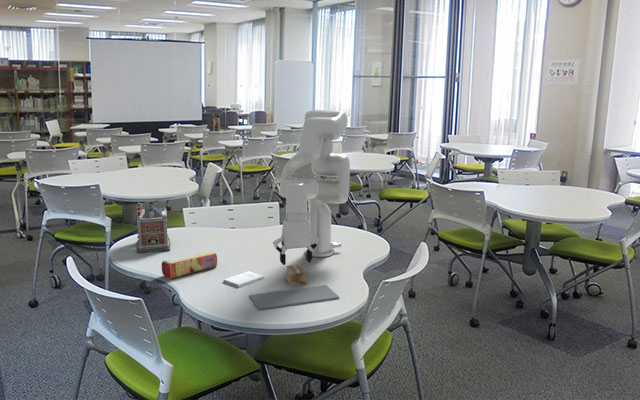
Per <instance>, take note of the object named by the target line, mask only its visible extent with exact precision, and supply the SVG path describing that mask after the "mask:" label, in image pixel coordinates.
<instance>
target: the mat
mask: <svg viewBox="0 0 640 400" xmlns="http://www.w3.org/2000/svg"><path fill="white" fill-rule="evenodd" d="M249 298H250V300H251V301H252V302H253V304H254V305H255V307H256V308H257V309H258V311H262V310H269V309H276V308H283V307H290V306H297V305H303V304H311V303H319V302H325V301H331V300H332V301H333V300H339V299H340V296H339V295H338V294H337V293H336V292H335V291H334V290H333V289H331V288H330V287H329V286H328V285H327V284H321V285H314V286H307V287H306V286H305V287H299V288H292V289H284V290H275V291H270V292H268V291H267V292H261V293H254V294H249Z"/></svg>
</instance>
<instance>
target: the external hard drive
mask: <svg viewBox="0 0 640 400" xmlns="http://www.w3.org/2000/svg"><path fill="white" fill-rule="evenodd" d="M263 279H265V276H264V274H263V275H262V274H260V273H256V272H252V271H249V270H248V271H245V272H242V273H238V274H236V275H233V276H230V277H228V278H225V279H223V283H225V284H227V285H230V286H233V287H236V288H237V289H239V288H242V287H245V286H247V285H250V284H253V283H256V282H259V281H261V280H263Z"/></svg>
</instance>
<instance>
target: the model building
mask: <svg viewBox="0 0 640 400" xmlns="http://www.w3.org/2000/svg"><path fill="white" fill-rule="evenodd" d="M136 205H137V210H136V223H137V225H136V226H137V241H136V249H135V250H136V251H135V252H136V253H135V254H137V253H138V254H149V253H148V252H150V253H158V252H161V251H162V252H170V250H171V239H170V237H169V234H168V224H167V223H168V219H167V215H168V214H167V207H165V206H164V207H162V208H158V207H155V206H154V202H153V201H149V207H147V208H145V209H144V208H141V207H142V206H141V202H137V204H136Z"/></svg>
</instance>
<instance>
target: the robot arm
mask: <svg viewBox="0 0 640 400" xmlns="http://www.w3.org/2000/svg"><path fill="white" fill-rule="evenodd" d="M347 126H348V115H347V113H346V112H345V111H343V110H337V109H336V110H332V109H331V110H330V109H313V110H311V109H310V110H308V111H306V112H305V115H304V122H303V125H302V128H301V129H302V130H301V135H300V140H299V146H298V151H297V152H296V153H295V154H294V155H293V156H292V157H291V158H290V159H289V160H288V161H287V162H286V164H285V165H284V167H283V169H282V172H281V178H280V182H279V193H280V196H281V197H282V198H285V200H286V201H285V219H284V220H283V222H282V225H281V226H282V227H281V236H280V237H279V238H277V239H275V240H274V241H272V244H273V247H274V249H275V250H276V251H278V253H279V261H280V263H281V264H282V265H283V266H286V264H287V263H286V260H287V259H286V258H287V256H286V252H287V251H288V250H291V249H301V248H302V249H303V248H305V249H304V254H306V255H305V260H306V262H308V263H311V262H312V259H313V257H315V258H325V257H329V256H333V255H334V254H335V249H337V248H338V249H339V248H342V243H341V242H337V241H335V242H332V211H331V209H330V207H329V206H328V204H339V205H340V204H345V203H346V202H347V201H348V199H349V195H350V194H349V191H350V176H351V175H350V174H351V173H350V172H351V163H350V161H351V160H350V158H349V156H347V155H346V154H343V153H334V152H333V150H334V141H336V140H339V139H340V138H341V136H342V134H343V133H344V132H345V130H346V129H347ZM309 164H311V172H312V174H313V175H315V176H318V177H319V176H320V177H331V178H332V177H333V178H337V180H336V179H323V178H321V179H319V178H316V179H311V178H297V177H292V175H293V174H294V173H295V172H296V171H297V170H298V169H300V168H302V167H304V166H306V165H309ZM280 243H281V247H280V246H279V244H280Z"/></svg>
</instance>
